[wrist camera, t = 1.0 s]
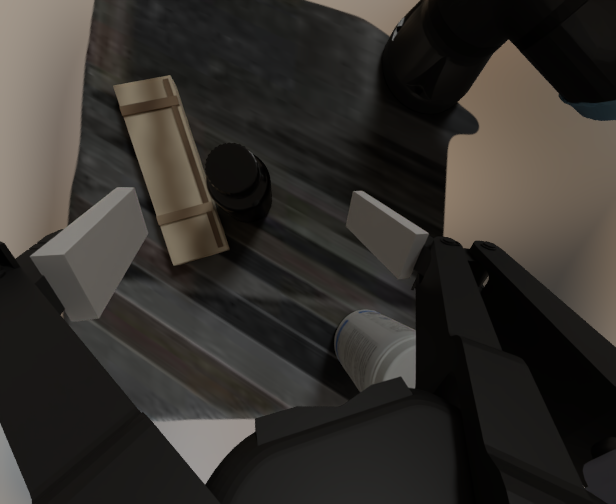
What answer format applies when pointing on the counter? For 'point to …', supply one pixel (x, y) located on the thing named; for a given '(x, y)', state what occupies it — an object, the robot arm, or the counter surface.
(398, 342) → the supplement tub
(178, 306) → the counter surface
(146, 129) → the birch board
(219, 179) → the supplement bottle
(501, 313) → the robot arm
